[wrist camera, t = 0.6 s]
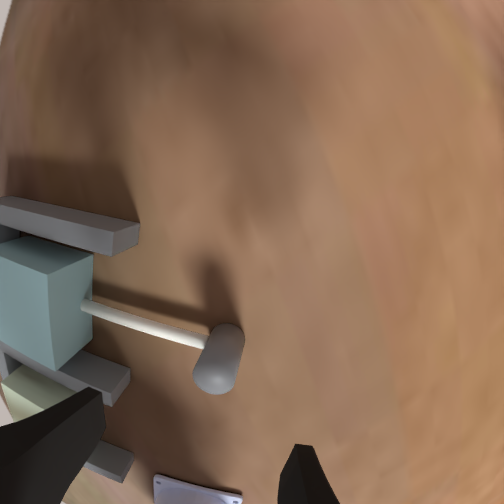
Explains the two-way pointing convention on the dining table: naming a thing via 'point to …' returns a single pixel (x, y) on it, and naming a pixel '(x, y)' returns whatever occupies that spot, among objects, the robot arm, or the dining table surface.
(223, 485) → the dining table surface
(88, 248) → the lane rack
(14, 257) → the teal block with cord
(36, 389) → the sage block
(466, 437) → the dining table surface
